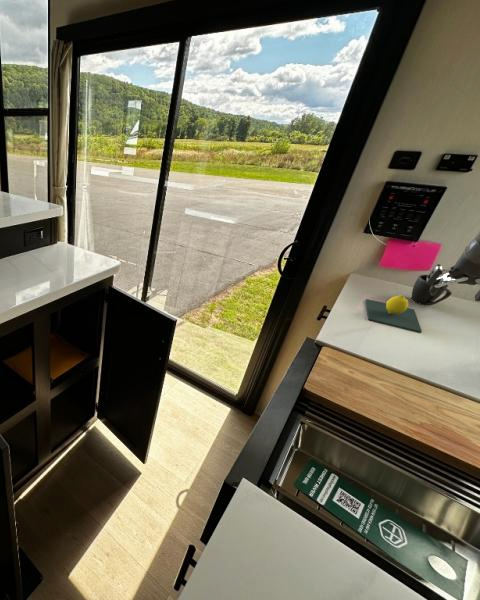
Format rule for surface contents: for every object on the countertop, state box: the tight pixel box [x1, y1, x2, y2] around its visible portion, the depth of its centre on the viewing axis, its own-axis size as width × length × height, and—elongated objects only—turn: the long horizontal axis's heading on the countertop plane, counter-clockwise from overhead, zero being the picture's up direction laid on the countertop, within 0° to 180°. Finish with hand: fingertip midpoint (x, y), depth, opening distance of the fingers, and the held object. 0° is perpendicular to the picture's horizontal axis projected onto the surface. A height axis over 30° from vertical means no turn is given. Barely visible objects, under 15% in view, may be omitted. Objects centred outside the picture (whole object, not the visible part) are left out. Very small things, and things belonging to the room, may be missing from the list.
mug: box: [410, 274, 453, 306], centre depth 118 cm, size 8×12×10 cm
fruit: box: [385, 294, 409, 314], centre depth 113 cm, size 6×6×8 cm
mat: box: [365, 298, 423, 334], centre depth 115 cm, size 14×16×1 cm
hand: (454, 296), depth 90 cm, fingers open, 8 cm apart
